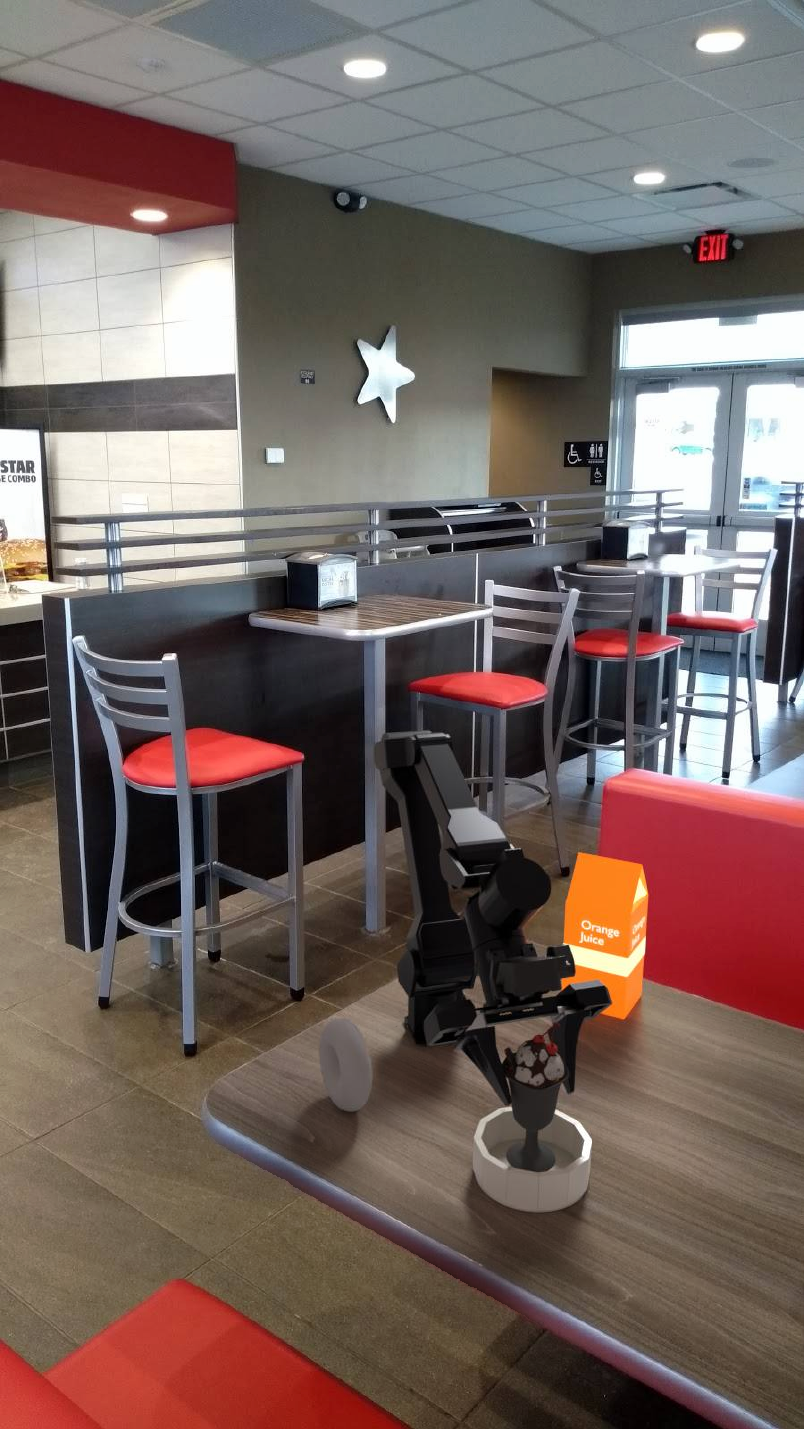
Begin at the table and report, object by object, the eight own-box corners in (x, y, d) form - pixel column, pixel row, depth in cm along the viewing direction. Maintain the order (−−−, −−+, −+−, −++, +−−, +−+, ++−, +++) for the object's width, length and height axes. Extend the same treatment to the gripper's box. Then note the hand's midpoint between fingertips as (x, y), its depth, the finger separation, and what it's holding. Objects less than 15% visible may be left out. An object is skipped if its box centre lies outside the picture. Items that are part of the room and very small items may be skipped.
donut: (377, 1125, 116) (377, 1041, 113) (347, 1133, 114) (347, 1048, 112) (342, 1077, 125) (342, 999, 122) (314, 1084, 123) (313, 1005, 121)
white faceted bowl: (495, 1220, 101) (497, 1184, 101) (460, 1147, 112) (461, 1113, 111) (607, 1202, 104) (609, 1166, 103) (562, 1132, 115) (564, 1099, 114)
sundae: (578, 1159, 108) (586, 1025, 104) (534, 1189, 103) (541, 1049, 100) (528, 1129, 113) (534, 999, 109) (484, 1156, 108) (489, 1022, 104)
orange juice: (624, 1020, 138) (633, 874, 133) (559, 1002, 142) (566, 861, 138) (642, 994, 145) (652, 855, 140) (580, 978, 149) (587, 842, 144)
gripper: (435, 930, 103) (474, 1096, 95) (609, 907, 109) (658, 1063, 101) (408, 967, 112) (442, 1122, 105) (570, 944, 118) (612, 1090, 110)
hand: (540, 1098), depth 105 cm, fingers closed on sundae, 6 cm apart
